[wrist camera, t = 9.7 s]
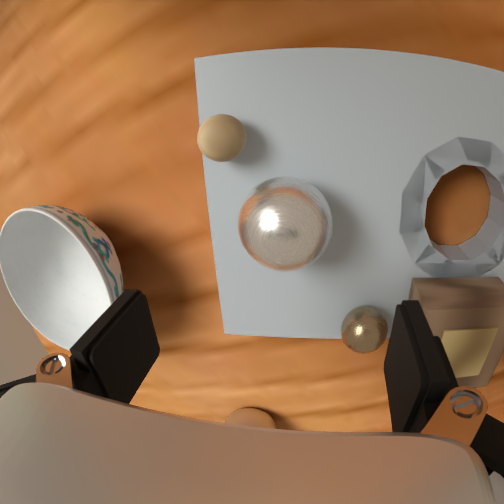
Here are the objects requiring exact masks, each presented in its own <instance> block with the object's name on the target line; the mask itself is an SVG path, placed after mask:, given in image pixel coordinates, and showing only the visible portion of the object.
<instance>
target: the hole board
mask: <svg viewBox="0 0 504 504" xmlns="http://www.w3.org/2000/svg"><path fill="white" fill-rule="evenodd" d="M194 62H195V75H196V88H197V100H198V112H199V124H200V126H201V125H202V123H203V122H204V121H205V120H207V119H208V118H209V117H211V116H214V115H218V114H227V115H231V116H233V117H235V118H236V119H238V120H239V121H240V122H241V123H242V125H243V126H244V128H245V131H246V144H245V147H244V149H243V151H242V152H241V153H240V154H239V155H238V156H237V157H236V158H234V159H232V160H230V161H226V162H217V161H213V160H211V159H209V158H207V157H206V156H205V155H204V154H203V153H202V155H203V165H204V175H205V184H206V193H207V202H208V211H209V220H210V228H211V236H212V244H213V252H214V260H215V268H216V276H217V283H218V290H219V298H220V305H221V312H222V319H223V326H224V332H225V334H236V335H252V336H270V337H293V338H333V339H342V336H341V325H342V322H343V319H344V318H345V316H346V315H347V314H348V313H349V312H350V311H351V310H352V309H354V308H356V307H359V306H372V307H375V308H377V309H378V310H380V311H381V312H382V313H383V315H384V316H385V318H386V320H387V324H388V334H387V337H386V338H390V335H391V330H392V325H393V320H394V315H395V310H396V306H397V304H401V303H402V301H403V300H408V298H409V292H410V287H411V281H412V278H456V277H499V278H500V279H501V280H502V282H503V283H504V72H503V71H500V70H496V69H492V68H488V67H484V66H480V65H476V64H471V63H467V62H462V61H457V60H452V59H447V58H441V57H435V56H429V55H422V54H414V53H406V52H398V51H387V50H375V49H359V48H285V49H269V50H256V51H246V52H236V53H228V54H220V55H213V56H206V57H200V58H194ZM462 164H463V165H472V166H475V167H477V168H478V169H479V170H480V171H481V172H482V173H483V174H484V176H485V179H486V182H487V185H488V188H489V191H490V194H491V196H490V204H489V211H488V217H487V219H486V220H485V222H484V223H483V225H482V226H481V228H480V229H479V231H478V232H477V234H476V235H475V236H473V237H472V238H470V239H468V240H466V241H465V242H463V243H461V244H459V245H438V244H437V243H435V242H434V241H432V240H431V239H430V238H429V236H428V234H427V231H426V229H425V226H424V224H425V215H426V204H427V198H428V197H429V195H430V194H431V192H432V190H433V189H434V187H435V186H436V184H437V182H438V181H439V179H440V177H441V176H443V175H444V174H446V173H448V172H450V171H452V170H453V169H455V168H457V167H459V166H461V165H462ZM282 176H288V177H295V178H299V179H302V180H304V181H307V182H309V183H310V184H312V185H313V186H315V187H316V188H317V189H318V190H319V191H320V192H321V193H322V194H323V195H324V197H325V198H326V200H327V202H328V204H329V206H330V209H331V212H332V217H333V233H332V237H331V240H330V242H329V245H328V247H327V249H326V250H325V252H324V253H323V254H322V256H321V257H320V258H319V259H318V260H317V261H315V262H314V263H313V264H311V265H310V266H308V267H306V268H303V269H301V270H297V271H292V272H279V271H274V270H271V269H268V268H265V267H263V266H262V265H260V264H258V263H257V262H256V261H255V260H253V259H252V258H251V257H250V256H249V254H248V253H247V252H246V250H245V249H244V247H243V245H242V243H241V240H240V237H239V233H238V214H239V211H240V208H241V205H242V203H243V201H244V199H245V198H246V196H247V195H248V194H249V192H250V191H251V190H252V189H253V188H255V187H256V186H257V185H259V184H260V183H262V182H264V181H266V180H268V179H271V178H275V177H282Z"/></svg>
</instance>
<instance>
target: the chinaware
mask: <svg viewBox="0 0 504 504" xmlns="http://www.w3.org/2000/svg"><path fill="white" fill-rule="evenodd" d="M0 266H1V271H2V274H3V278H4V280H5V283H6V285H7V288H8V290H9V292H10V294H11V296H12V298H13V300H14V302H15V303H16V305H17V306H18V308H19V309H20V311H21V312H22V314H23V315H24V316H25V318H26V319H27V320H28V321H29V322H30V323H31V324H32V325H33V327H34V328H36V329H37V330H38V331H39V332H40V333H41V334H42V335H43V336H45V337H46V338H47V339H49V340H50V341H52V342H53V343H55V344H57V345H58V346H60V347H62V348H65V349H67V350H70V348H71V347H72V346H73V345H74V344H75V343H76V342H77V340H78V339H79V338H80V337H81V336H82V335H83V334H84V333H85V332H86V331H87V330H88V329H89V328H90V326H91V325H92V324H93V323H94V322H95V321H96V320H97V319H98V318H99V317H100V316H101V315H102V314H103V313H104V312H105V311H106V310H107V309H108V307H109V306H110V305H111V304H112V303H113V302H114V301H115V300H116V299H117V298H118V297H119V296H120V295H121V294H122V293H123V291H124V287H123V276H122V270H121V266H120V263H119V260H118V257H117V254H116V252H115V249H114V246H113V244H112V242H111V240H110V239H109V238H108V236H107V235H106V234H105V233H104V232H103V231H102V230H101V229H100V228H99V227H98V226H96V225H95V224H94V223H93V222H92V221H91V220H89V219H88V218H86V217H85V216H83V215H81V214H80V213H78V212H75V211H73V210H70V209H67V208H64V207H59V206H49V205H43V206H33V207H27V208H23V209H20V210H18V211H16V212H14V213H13V214H11V215H10V216H9V217H8V218H7V220H6V221H5V223H4V225H3V227H2V229H1V233H0Z"/></svg>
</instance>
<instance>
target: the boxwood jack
mask: <svg viewBox="0 0 504 504" xmlns="http://www.w3.org/2000/svg"><path fill="white" fill-rule="evenodd" d="M197 142H198V146H199V148H200V150H201V152H202V153H203V154H204V155H205V156H206V157H207V158H209V159H211V160H213V161H217V162H226V161H230V160H232V159H234V158H236V157H237V156H238V155H239V154H240V153H241V152H242V151H243V149H244V147H245V144H246V131H245V128H244V126H243V125H242V123H241V122H240V121H239V120H238V119H236V118H235V117H233V116H231V115H227V114H218V115H214V116H211V117H209V118H208V119H207V120H205V121H204V122H203V123H202V125H201V126H200V128H199V131H198V135H197Z"/></svg>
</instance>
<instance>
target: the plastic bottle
mask: <svg viewBox="0 0 504 504" xmlns="http://www.w3.org/2000/svg"><path fill="white" fill-rule="evenodd" d="M225 423H228V424H236V425H244V426H252V427H262V428H272V429H276V424H275V422H274V420H273V419H272V417H271V416H270V415H269V414H267V413H266V412H264V411H262V410H259V409H254V408H242V409H238V410H236V411H234V412H233V413H231V414H230V415H229V416H228V418H227V420H226V422H225Z"/></svg>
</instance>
